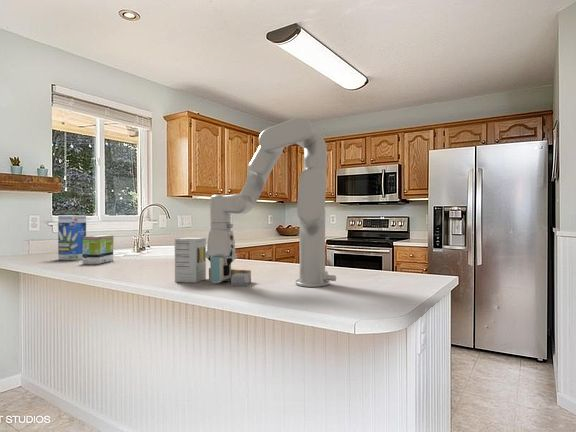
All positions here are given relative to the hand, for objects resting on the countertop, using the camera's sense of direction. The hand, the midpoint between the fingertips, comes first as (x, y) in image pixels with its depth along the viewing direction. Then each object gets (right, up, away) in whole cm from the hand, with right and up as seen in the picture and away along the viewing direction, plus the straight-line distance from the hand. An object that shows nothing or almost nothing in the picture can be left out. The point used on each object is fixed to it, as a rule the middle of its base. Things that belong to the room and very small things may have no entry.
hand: (221, 274), depth 146 cm
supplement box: (-13, -3, +6) cm, 14 cm away
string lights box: (-101, -3, +79) cm, 129 cm away
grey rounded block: (+8, -3, -4) cm, 9 cm away
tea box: (-79, -3, +64) cm, 102 cm away
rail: (+3, -3, +4) cm, 6 cm away
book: (0, -2, 0) cm, 2 cm away
